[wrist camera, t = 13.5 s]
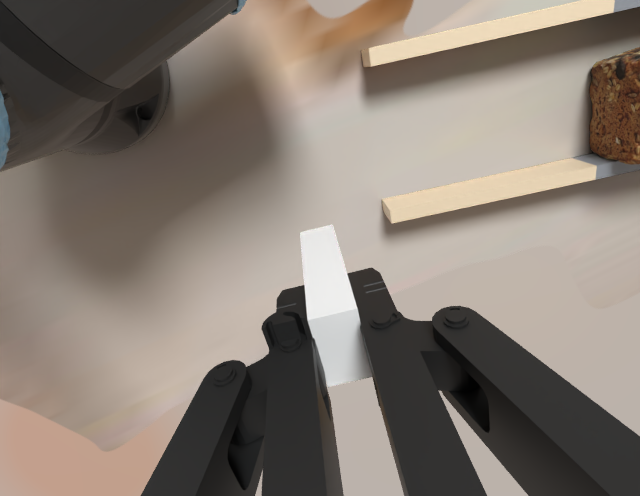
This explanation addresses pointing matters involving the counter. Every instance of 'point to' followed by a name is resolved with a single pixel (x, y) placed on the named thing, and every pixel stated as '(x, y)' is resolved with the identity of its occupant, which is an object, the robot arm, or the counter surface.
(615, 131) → the bread
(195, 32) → the robot arm
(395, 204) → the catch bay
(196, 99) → the counter surface
